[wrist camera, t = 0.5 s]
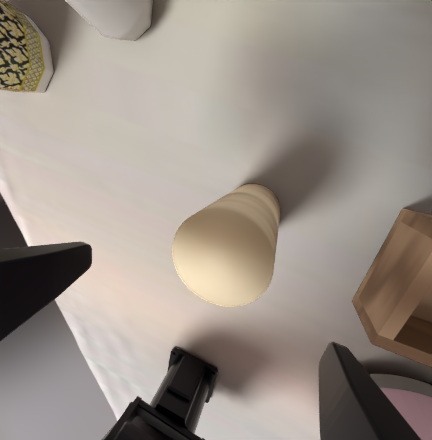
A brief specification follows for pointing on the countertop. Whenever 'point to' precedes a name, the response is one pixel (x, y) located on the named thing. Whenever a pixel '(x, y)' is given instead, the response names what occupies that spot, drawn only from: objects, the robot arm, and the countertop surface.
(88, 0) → the salt shaker
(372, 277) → the wooden square box
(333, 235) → the countertop surface
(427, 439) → the blender
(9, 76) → the ceramic cup
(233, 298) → the beech peg
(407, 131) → the countertop surface
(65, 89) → the countertop surface
